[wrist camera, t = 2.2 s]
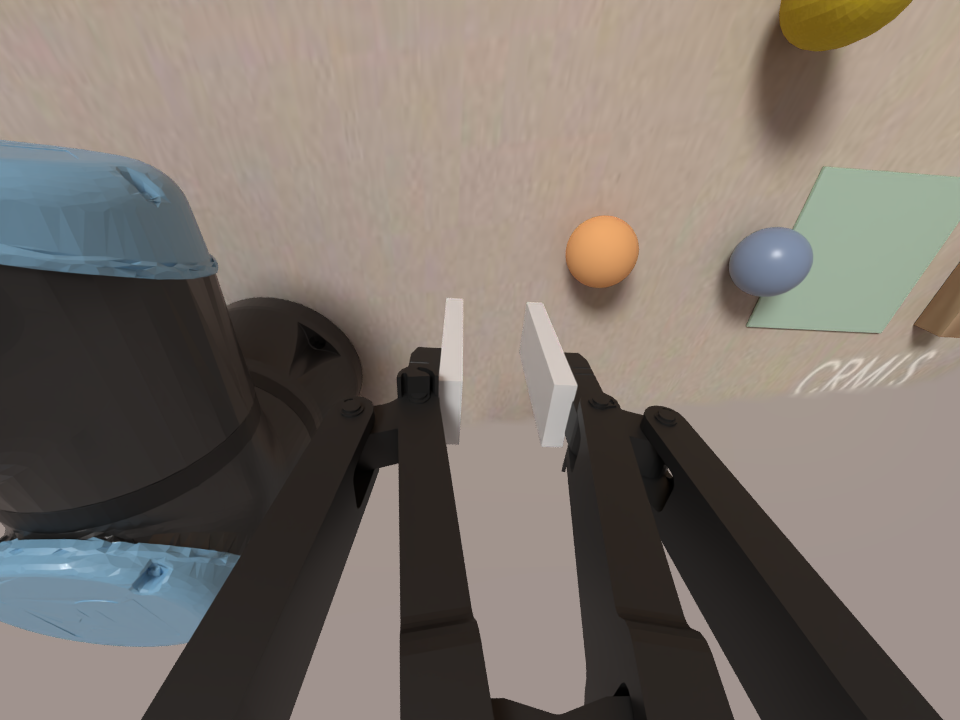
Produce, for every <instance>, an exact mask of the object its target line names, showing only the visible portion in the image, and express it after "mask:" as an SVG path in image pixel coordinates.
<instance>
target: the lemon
mask: <svg viewBox="0 0 960 720" xmlns="http://www.w3.org/2000/svg"><path fill="white" fill-rule="evenodd" d="M911 2H912V0H781V5H780V11H779V20H780V27H781V30H782V33H783V35H784V36H785V37H786V39H787V40H788V41H789V42H790V43H791V44H793V45H794V46H796V47H798V48H800V49H803V50H810V51H826V50H831V49H837V48H841V47H844V46H847V45H849V44H852V43H854V42H856V41H859V40H861V39H863V38H865V37H867V36H869V35H871V34H873V33H875V32H876V31H878V30H879V29H881V28H882V27H884V26H885V25H887V24H888V23H889V22H891V21H892V20H893V19H895V18H896V17H897V16H898V15H899V14H900V13H901V12H902V11H903V10H904V9H905V8H906V7H907V6H908V5H909V4H910V3H911Z"/></svg>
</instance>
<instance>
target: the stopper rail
mask: <svg viewBox="0 0 960 720" xmlns="http://www.w3.org/2000/svg"><path fill="white" fill-rule="evenodd" d="M914 325H916V326H918V327H920V328H922V329H924V330H926V331H928V332H931V333H933V334H935V335H937V336H939V337H954V338H960V263H959V264H958V265H957V267H956V268H955V270H954V271H953V272H952V274H951V275H950V276H949V278H948V279H947V280H946V282H945V283H944V284H943V286H942V287H941V288H940V290H939V291H938V293H937V294H936V295H935V297H934V298H933V299H932V301H931V302H930V303H929V305H928V306H927V307H926V309H925V310H924V311H923V313H922V314H921V316H920V317H919V318H918V320H917V321H916V322H915V324H914Z"/></svg>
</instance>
